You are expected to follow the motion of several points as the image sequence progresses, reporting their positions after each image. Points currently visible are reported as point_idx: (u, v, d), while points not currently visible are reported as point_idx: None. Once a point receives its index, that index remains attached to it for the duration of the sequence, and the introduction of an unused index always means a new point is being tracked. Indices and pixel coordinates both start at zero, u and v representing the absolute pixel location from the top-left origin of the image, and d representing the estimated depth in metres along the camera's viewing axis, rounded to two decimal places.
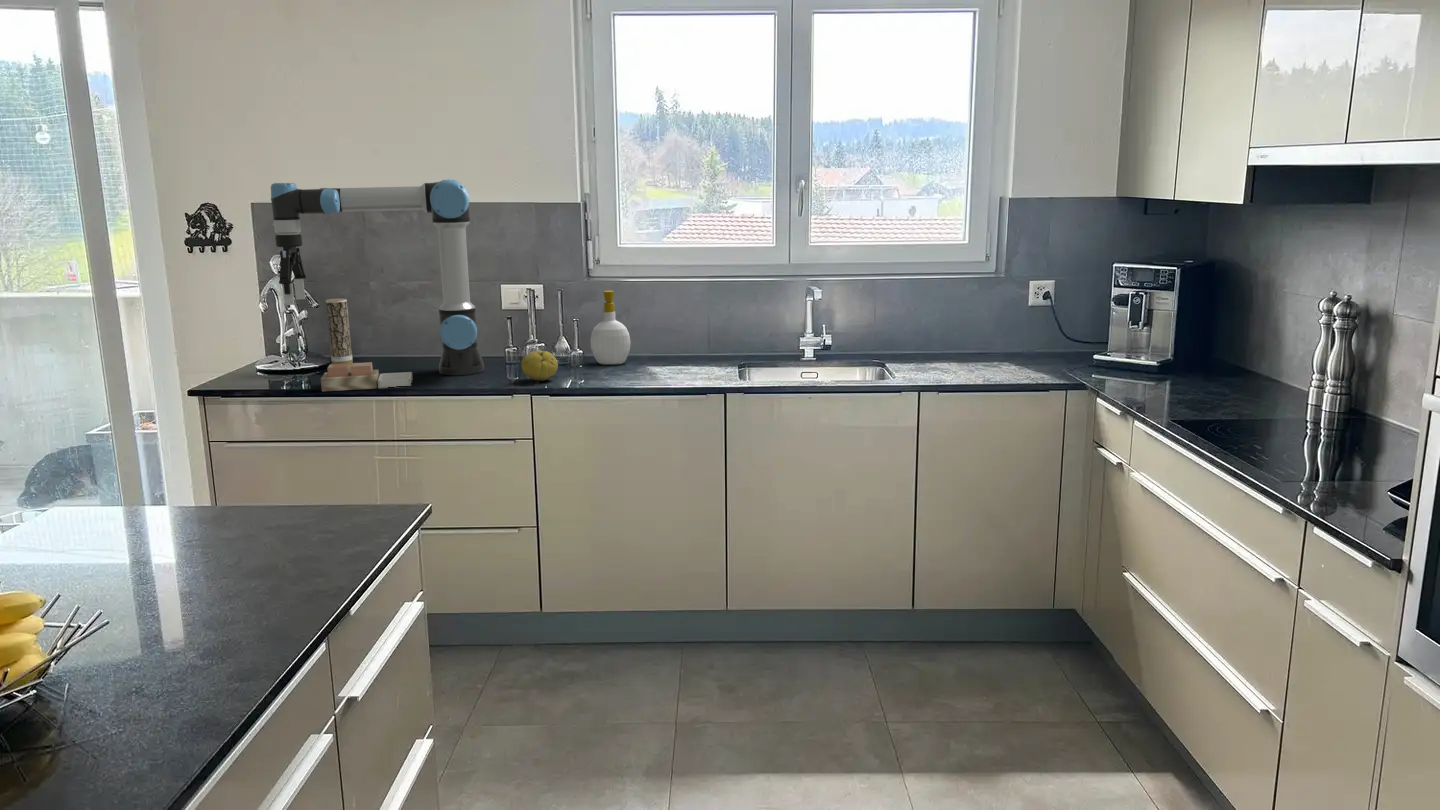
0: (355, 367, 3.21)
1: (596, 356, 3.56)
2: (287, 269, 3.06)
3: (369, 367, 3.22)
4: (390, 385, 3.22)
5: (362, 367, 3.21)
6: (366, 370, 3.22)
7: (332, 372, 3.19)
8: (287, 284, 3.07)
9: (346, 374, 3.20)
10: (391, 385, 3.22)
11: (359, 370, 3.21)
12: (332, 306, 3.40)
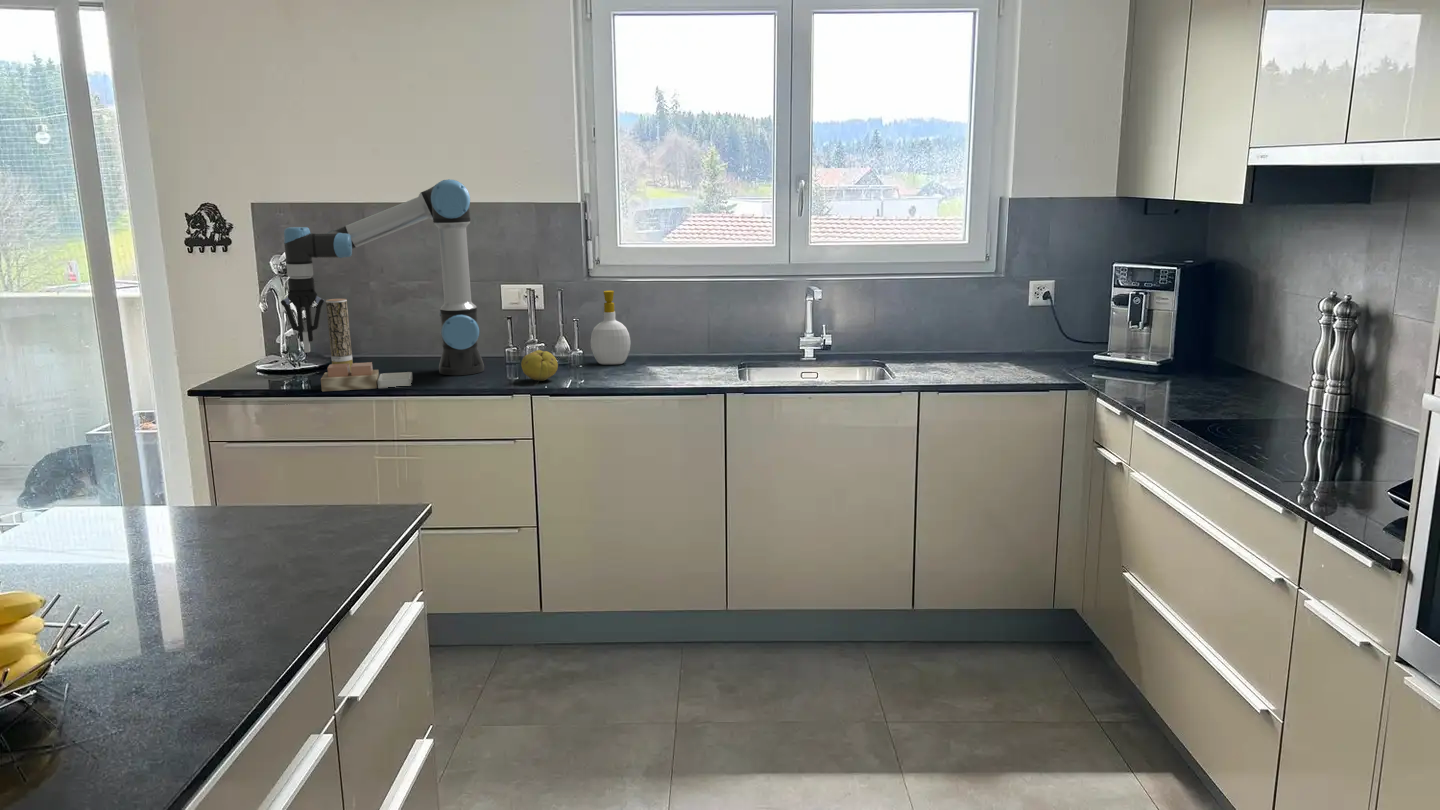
0: (355, 367, 3.21)
1: (596, 356, 3.56)
2: None
3: (369, 367, 3.22)
4: (390, 385, 3.22)
5: (362, 367, 3.21)
6: (366, 370, 3.22)
7: (332, 372, 3.19)
8: None
9: (346, 374, 3.20)
10: (391, 385, 3.22)
11: (359, 370, 3.21)
12: (332, 306, 3.40)
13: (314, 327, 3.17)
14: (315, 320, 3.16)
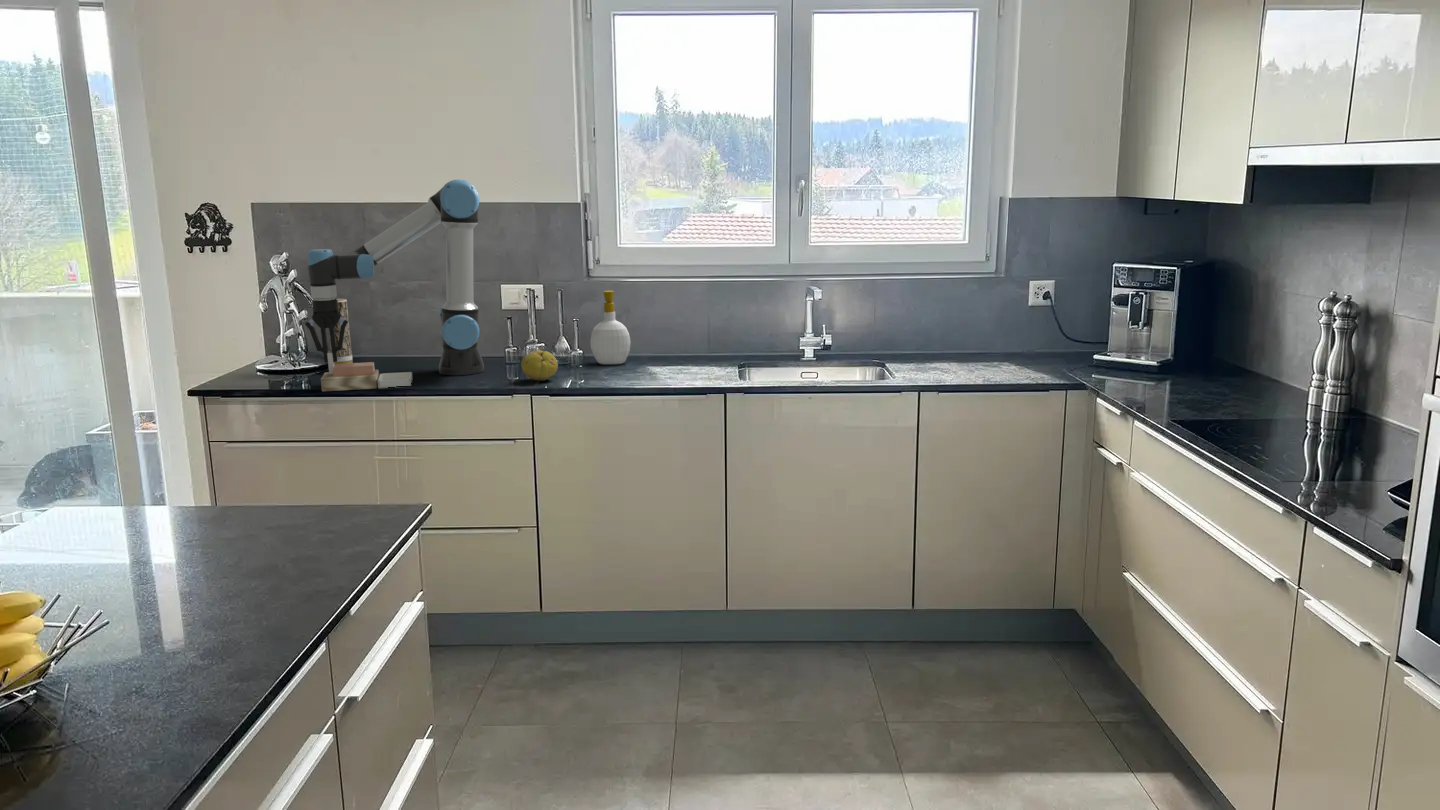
0: (357, 367, 3.21)
1: (596, 356, 3.56)
2: None
3: (371, 367, 3.22)
4: (390, 385, 3.22)
5: (364, 367, 3.21)
6: (368, 370, 3.22)
7: (338, 371, 3.20)
8: None
9: (351, 374, 3.21)
10: (391, 385, 3.22)
11: (361, 370, 3.21)
12: None
13: (338, 348, 3.20)
14: (339, 341, 3.19)
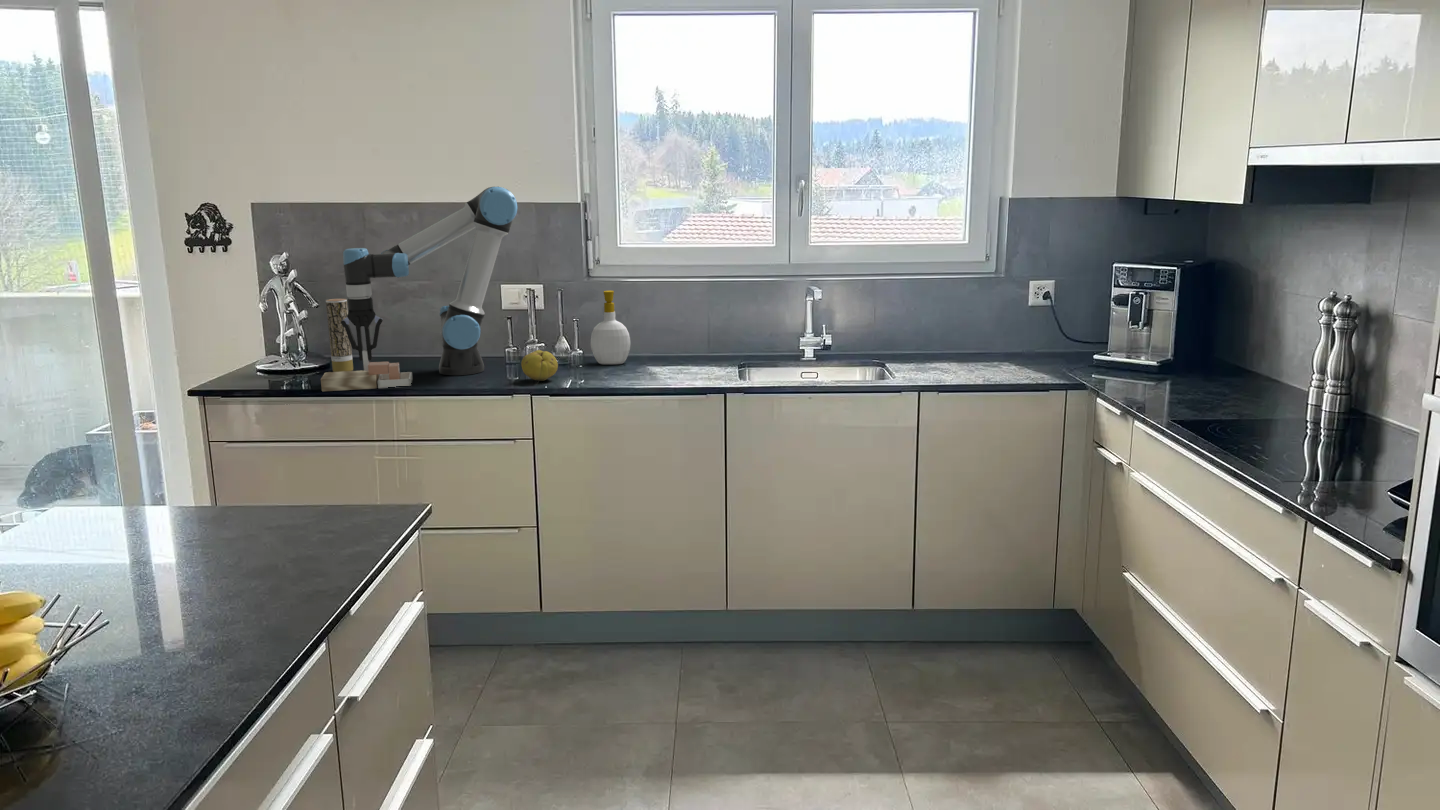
0: (396, 369, 3.24)
1: (596, 356, 3.56)
2: None
3: None
4: (390, 385, 3.22)
5: (397, 376, 3.25)
6: None
7: (373, 369, 3.22)
8: None
9: (386, 372, 3.23)
10: (391, 385, 3.22)
11: (394, 373, 3.24)
12: (332, 306, 3.40)
13: (373, 346, 3.22)
14: (374, 339, 3.22)
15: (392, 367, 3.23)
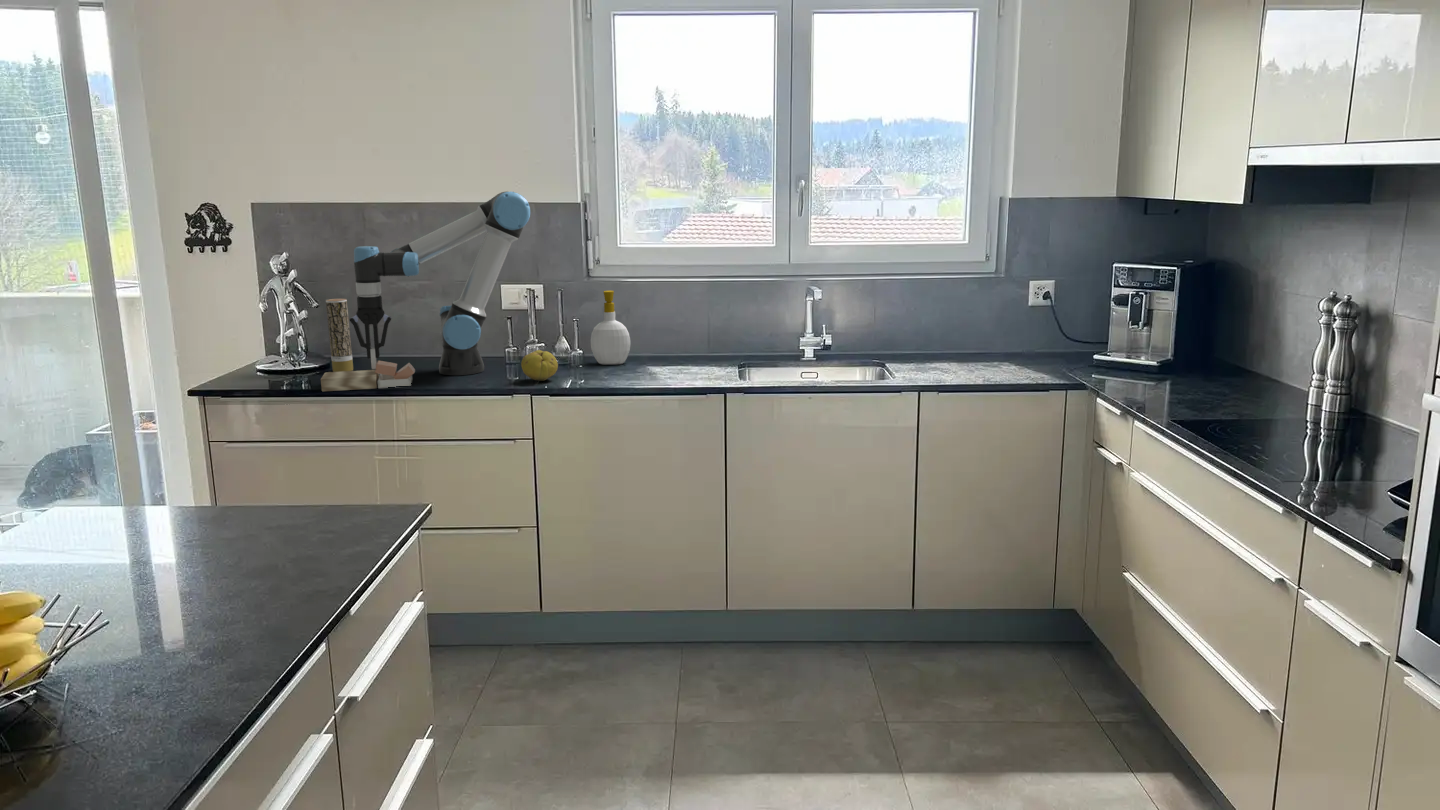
0: (410, 374, 3.25)
1: (596, 356, 3.56)
2: (357, 336, 3.21)
3: None
4: (390, 385, 3.22)
5: (404, 378, 3.25)
6: (399, 378, 3.25)
7: (380, 369, 3.23)
8: None
9: (393, 374, 3.24)
10: (391, 385, 3.22)
11: (405, 374, 3.25)
12: (332, 306, 3.40)
13: (381, 344, 3.23)
14: (382, 337, 3.22)
15: (409, 369, 3.25)
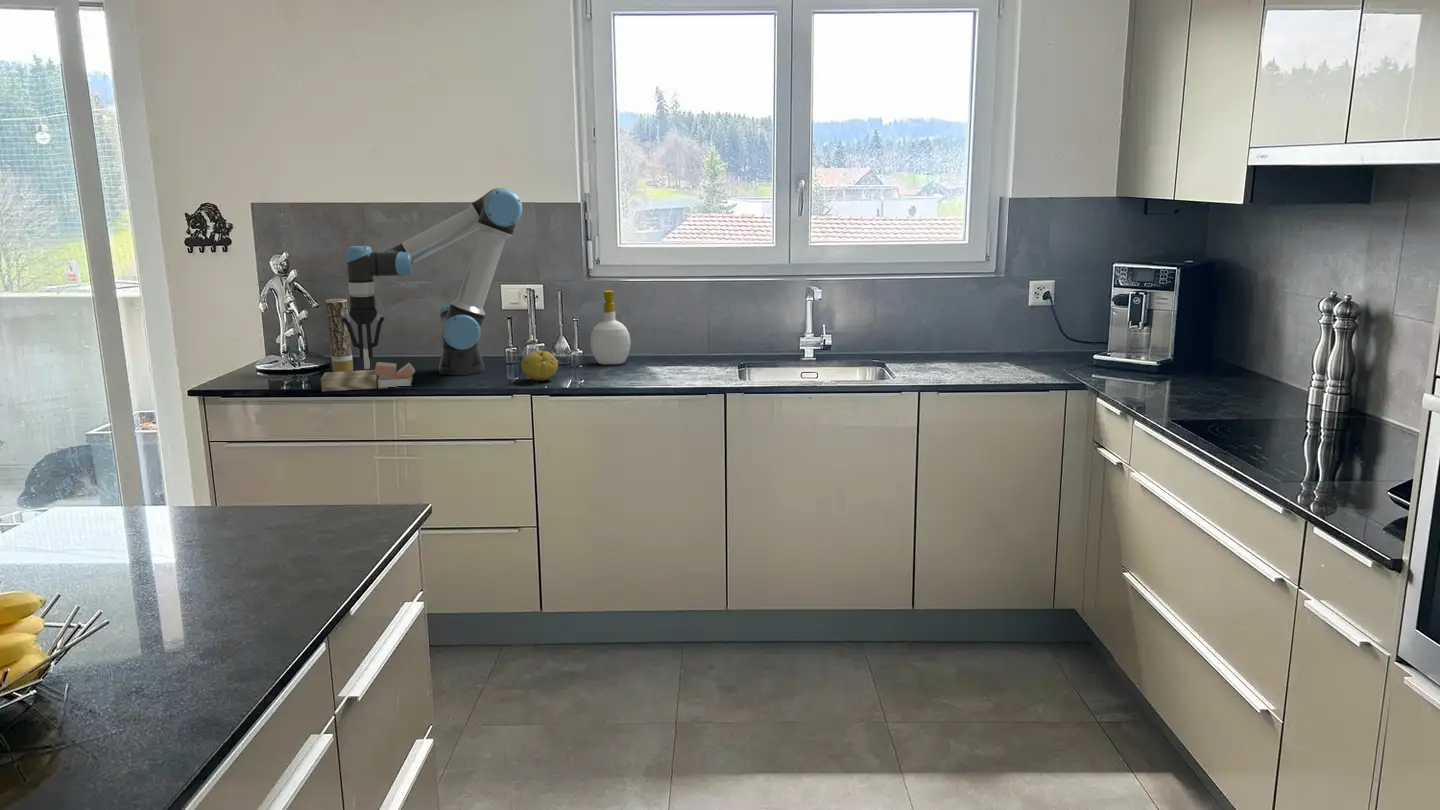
0: (410, 374, 3.25)
1: (596, 356, 3.56)
2: (350, 335, 3.20)
3: None
4: (390, 385, 3.22)
5: (404, 378, 3.25)
6: (399, 378, 3.25)
7: (380, 370, 3.23)
8: (359, 349, 3.22)
9: (393, 374, 3.24)
10: (391, 385, 3.22)
11: (405, 374, 3.25)
12: (332, 306, 3.40)
13: (374, 344, 3.22)
14: (375, 337, 3.22)
15: (409, 369, 3.25)
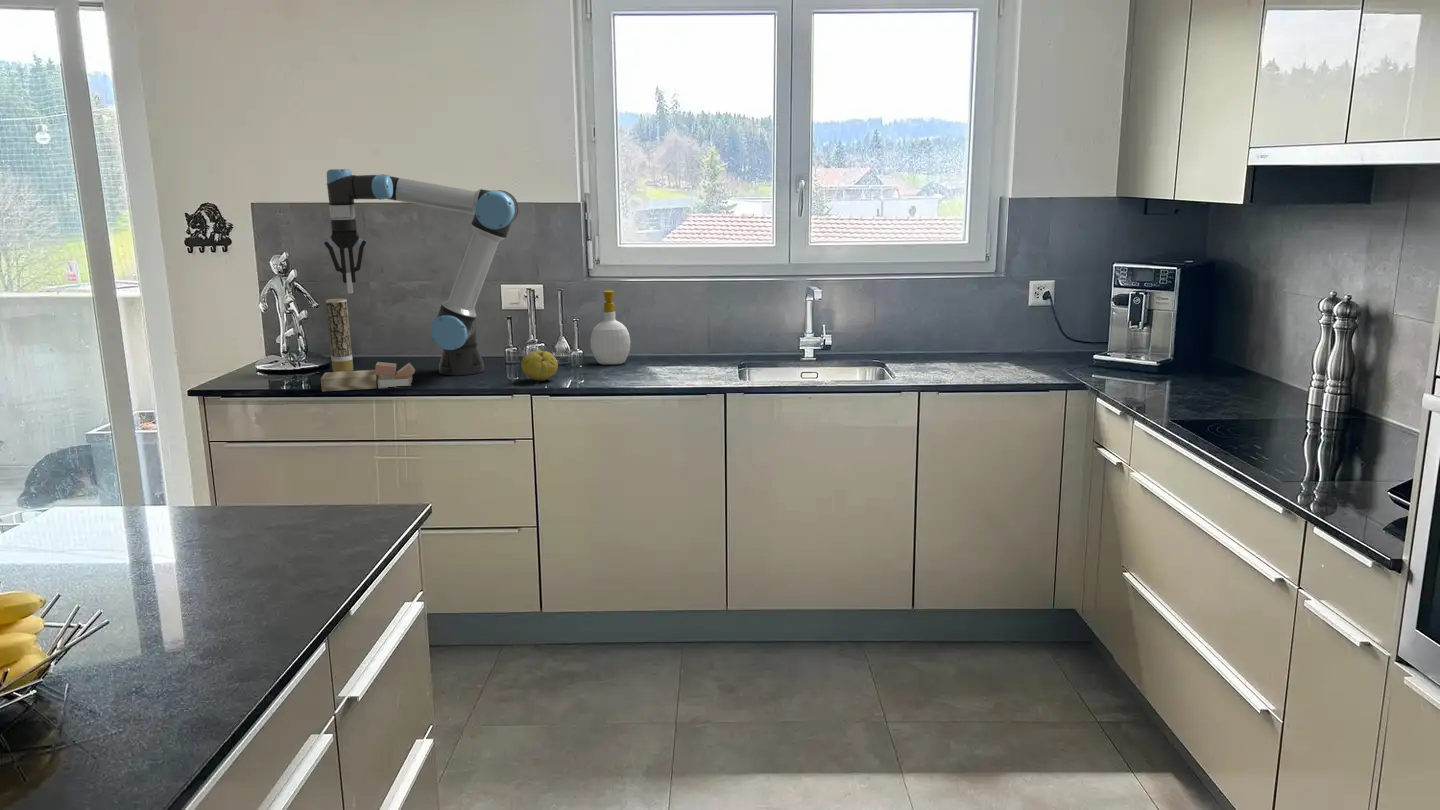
0: (410, 374, 3.25)
1: (596, 356, 3.56)
2: (332, 259, 3.20)
3: None
4: (390, 385, 3.22)
5: (404, 378, 3.25)
6: (399, 378, 3.25)
7: (380, 370, 3.23)
8: (342, 273, 3.23)
9: (393, 374, 3.24)
10: (391, 385, 3.22)
11: (405, 374, 3.25)
12: (332, 306, 3.40)
13: (357, 268, 3.23)
14: (358, 261, 3.22)
15: (409, 369, 3.25)
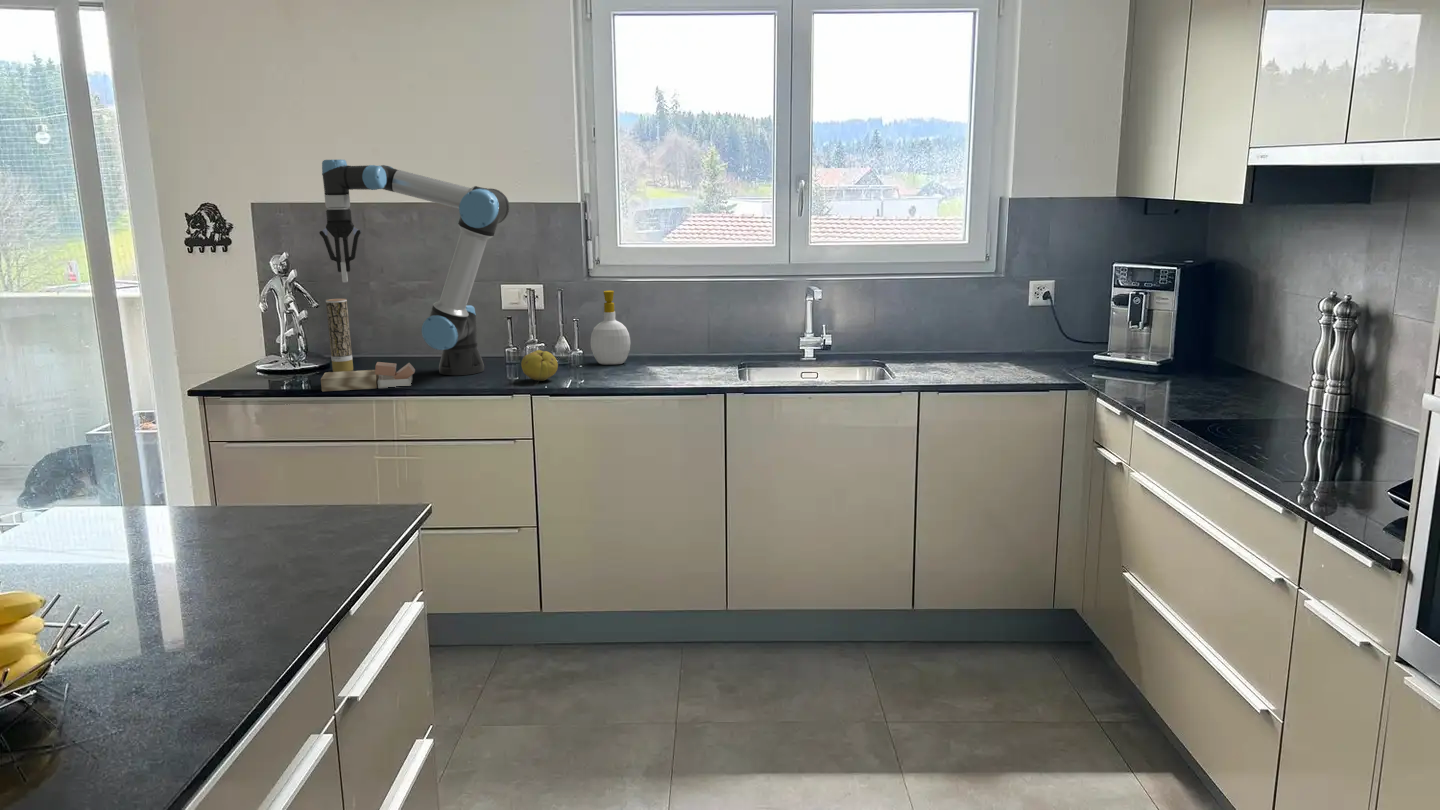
0: (410, 374, 3.25)
1: (596, 356, 3.56)
2: (327, 249, 3.25)
3: None
4: (390, 385, 3.22)
5: (404, 378, 3.25)
6: (399, 378, 3.25)
7: (380, 370, 3.23)
8: None
9: (393, 374, 3.24)
10: (391, 385, 3.22)
11: (405, 374, 3.25)
12: (332, 306, 3.40)
13: (351, 257, 3.27)
14: (352, 250, 3.27)
15: (409, 369, 3.25)
